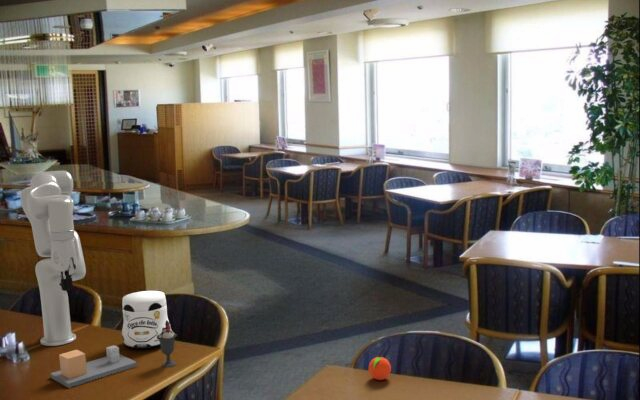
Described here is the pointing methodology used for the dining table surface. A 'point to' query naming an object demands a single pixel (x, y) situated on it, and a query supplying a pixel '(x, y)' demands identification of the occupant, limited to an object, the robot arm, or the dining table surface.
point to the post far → (113, 354)
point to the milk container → (144, 318)
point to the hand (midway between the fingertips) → (67, 289)
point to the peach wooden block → (73, 364)
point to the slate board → (95, 371)
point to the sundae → (167, 344)
